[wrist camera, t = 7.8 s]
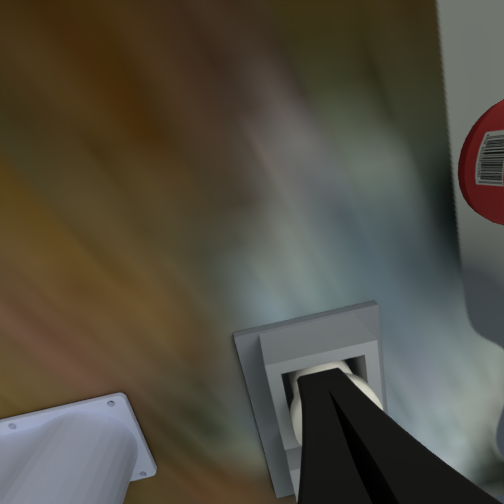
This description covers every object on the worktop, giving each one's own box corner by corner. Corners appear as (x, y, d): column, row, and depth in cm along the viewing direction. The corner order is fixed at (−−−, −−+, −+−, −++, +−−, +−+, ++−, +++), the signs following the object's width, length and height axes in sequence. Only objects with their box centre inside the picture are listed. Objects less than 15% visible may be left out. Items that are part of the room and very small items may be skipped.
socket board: (275, 490, 25) (283, 546, 21) (233, 332, 20) (234, 369, 16) (388, 464, 25) (416, 515, 21) (373, 300, 20) (405, 330, 16)
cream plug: (286, 404, 21) (301, 466, 16) (274, 346, 19) (286, 397, 15) (354, 389, 21) (386, 446, 17) (347, 329, 19) (380, 375, 15)
